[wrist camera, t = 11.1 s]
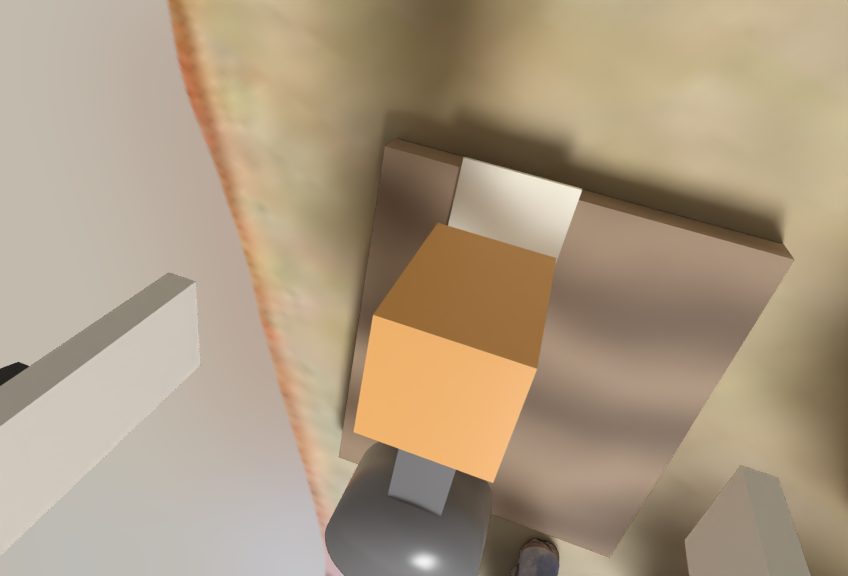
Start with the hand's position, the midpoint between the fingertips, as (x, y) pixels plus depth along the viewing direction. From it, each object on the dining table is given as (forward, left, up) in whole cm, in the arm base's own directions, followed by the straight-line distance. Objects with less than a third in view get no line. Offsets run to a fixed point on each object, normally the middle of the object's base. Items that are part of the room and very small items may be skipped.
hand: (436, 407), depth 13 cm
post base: (+8, +2, -14) cm, 17 cm away
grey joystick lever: (+6, 0, -7) cm, 9 cm away
